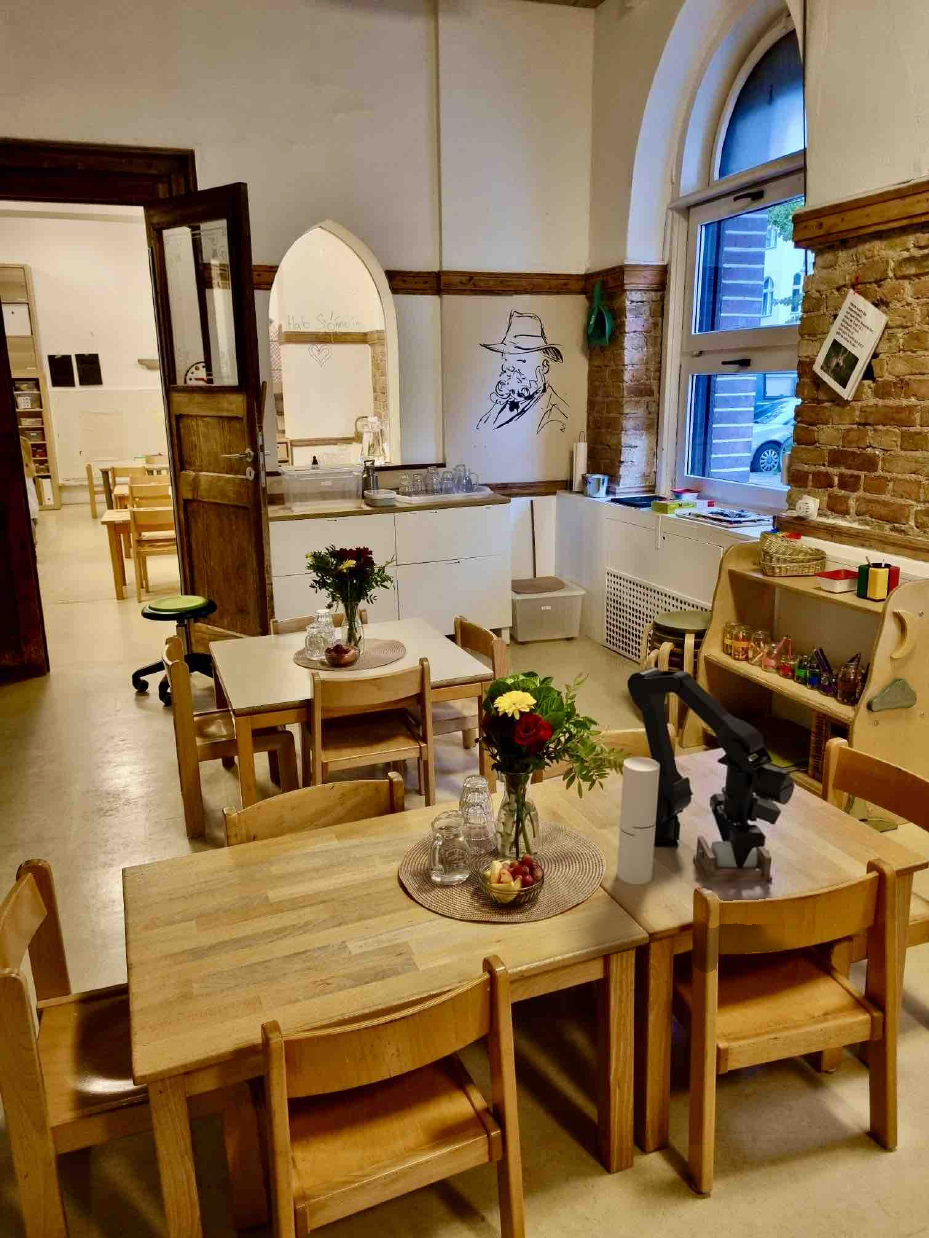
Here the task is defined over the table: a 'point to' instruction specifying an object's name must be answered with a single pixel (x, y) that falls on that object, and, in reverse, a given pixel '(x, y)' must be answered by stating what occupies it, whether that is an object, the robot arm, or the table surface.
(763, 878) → the holder
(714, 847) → the roll
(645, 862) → the cylindrical container
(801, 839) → the table surface
